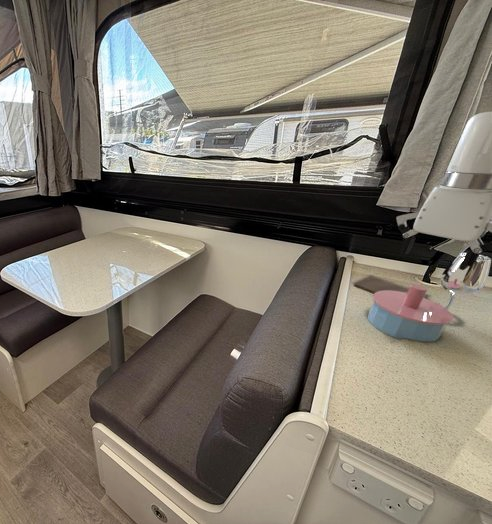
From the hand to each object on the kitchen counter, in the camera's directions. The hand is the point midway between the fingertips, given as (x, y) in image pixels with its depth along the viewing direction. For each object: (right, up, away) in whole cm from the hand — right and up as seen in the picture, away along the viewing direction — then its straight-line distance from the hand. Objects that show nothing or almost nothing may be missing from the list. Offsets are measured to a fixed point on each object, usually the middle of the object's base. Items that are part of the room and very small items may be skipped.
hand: (432, 260), depth 60 cm
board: (+20, -11, +32) cm, 39 cm away
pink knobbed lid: (+7, -13, +12) cm, 19 cm away
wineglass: (+22, -17, +18) cm, 33 cm away
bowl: (+7, -18, +15) cm, 25 cm away
